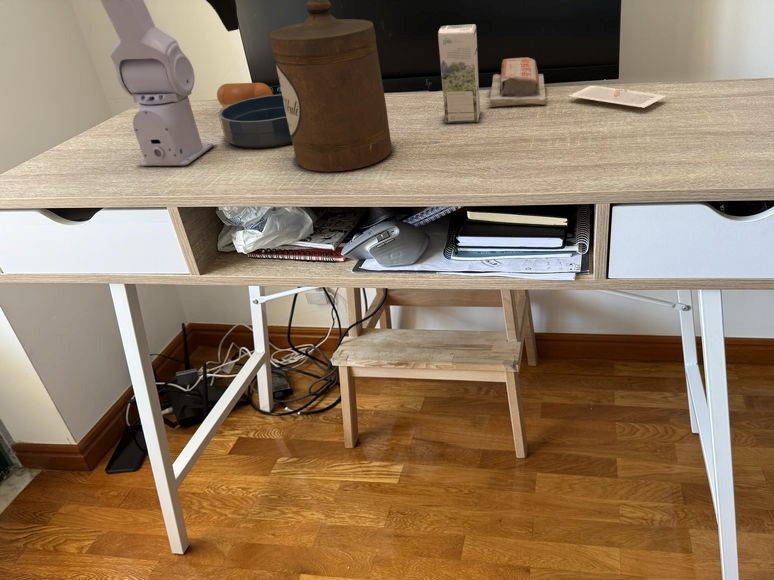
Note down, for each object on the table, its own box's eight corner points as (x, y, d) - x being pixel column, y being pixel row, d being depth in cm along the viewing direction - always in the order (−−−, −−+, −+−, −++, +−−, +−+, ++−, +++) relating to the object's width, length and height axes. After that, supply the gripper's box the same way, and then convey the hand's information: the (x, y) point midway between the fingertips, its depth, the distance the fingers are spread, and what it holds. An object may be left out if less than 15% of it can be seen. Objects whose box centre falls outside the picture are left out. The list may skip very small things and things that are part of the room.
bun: (279, 104, 132) (273, 79, 129) (269, 111, 128) (264, 86, 126) (227, 105, 134) (220, 81, 131) (216, 112, 130) (209, 87, 127)
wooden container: (309, 141, 111) (279, -8, 99) (398, 137, 110) (379, -14, 97) (284, 175, 99) (246, 9, 87) (383, 170, 98) (360, 2, 85)
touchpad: (643, 114, 112) (644, 100, 111) (567, 102, 120) (568, 89, 119) (666, 102, 117) (667, 89, 115) (591, 91, 125) (592, 79, 124)
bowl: (301, 149, 108) (295, 121, 106) (209, 150, 111) (201, 122, 109) (332, 119, 121) (328, 93, 119) (249, 120, 124) (243, 95, 121)
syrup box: (481, 112, 118) (476, 22, 110) (478, 123, 114) (473, 29, 105) (448, 114, 119) (441, 24, 111) (444, 124, 114) (436, 31, 106)
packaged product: (492, 56, 132) (543, 54, 131) (493, 82, 135) (543, 80, 134) (488, 80, 117) (546, 77, 116) (489, 108, 120) (546, 106, 119)
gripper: (228, -52, 110) (256, 32, 120) (225, -78, 119) (251, 2, 129) (185, -43, 109) (217, 41, 119) (185, -70, 118) (214, 10, 129)
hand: (232, 21), depth 124 cm, fingers open, 7 cm apart
